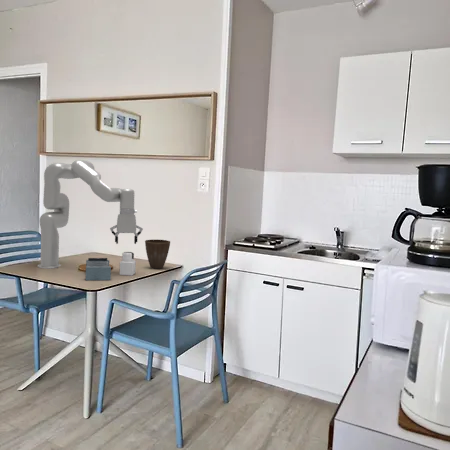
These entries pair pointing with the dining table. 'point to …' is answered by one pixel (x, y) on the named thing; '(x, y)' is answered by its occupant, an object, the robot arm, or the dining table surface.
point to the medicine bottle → (127, 264)
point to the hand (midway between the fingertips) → (126, 243)
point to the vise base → (98, 272)
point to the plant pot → (157, 252)
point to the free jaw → (97, 262)
